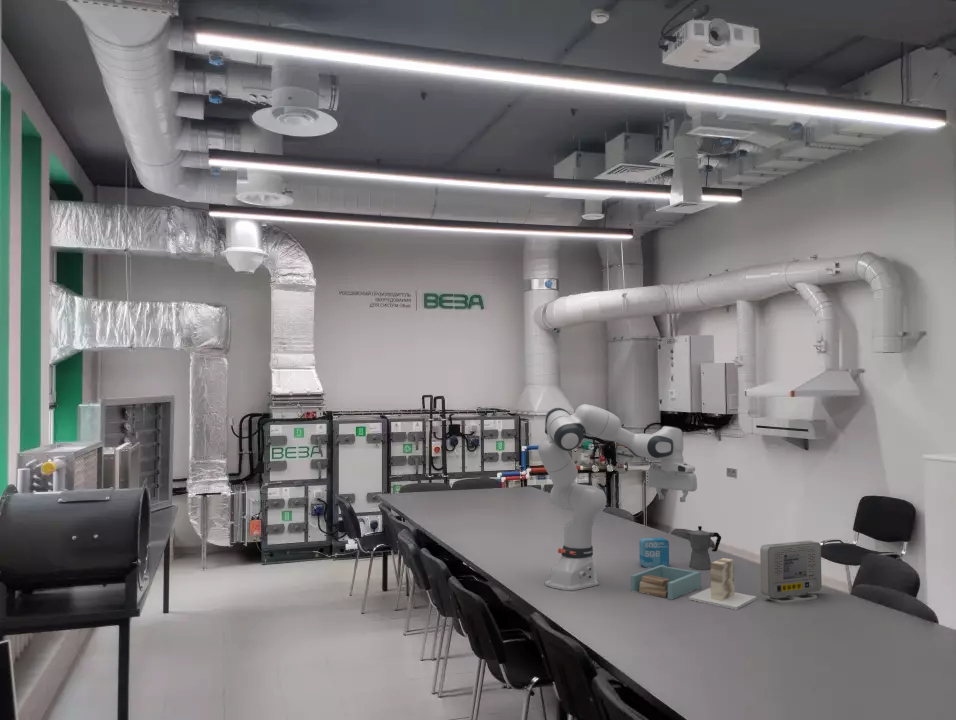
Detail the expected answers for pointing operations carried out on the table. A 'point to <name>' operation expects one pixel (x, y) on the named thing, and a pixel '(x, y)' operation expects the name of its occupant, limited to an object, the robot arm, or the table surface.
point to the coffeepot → (701, 548)
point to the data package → (654, 552)
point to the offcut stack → (654, 585)
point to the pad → (731, 602)
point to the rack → (671, 579)
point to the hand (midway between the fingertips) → (671, 500)
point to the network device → (790, 570)
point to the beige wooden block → (722, 579)
